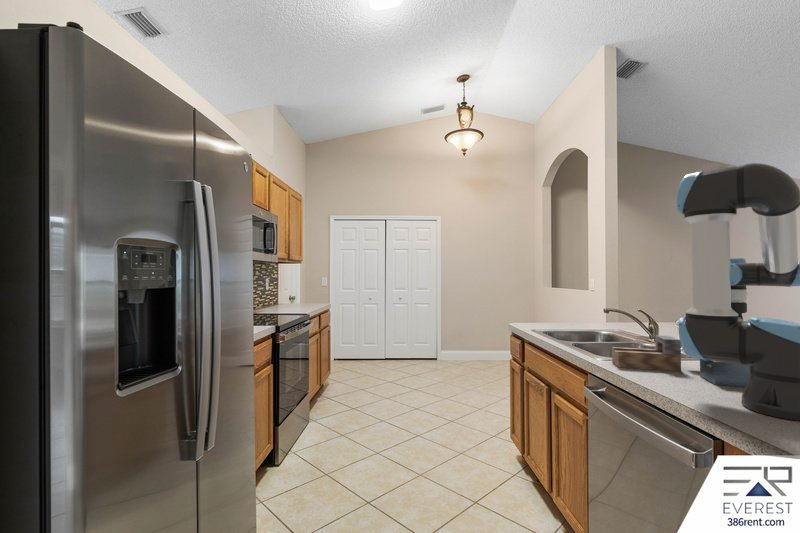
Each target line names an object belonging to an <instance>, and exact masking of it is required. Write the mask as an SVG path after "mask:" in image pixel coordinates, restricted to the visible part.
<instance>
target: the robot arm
mask: <svg viewBox="0 0 800 533" xmlns="http://www.w3.org/2000/svg"><path fill="white" fill-rule="evenodd" d="M677 189H678V190H677V194H676V209H677V213H678V214H680V215H684V216H683V218H684V219H683V220H684V221H686V223H688V224H690V246H691V247H690V250H691V252H690V255H691V256H690V260H691V261H690V262H691V264H690V265H691V307H690V308H689V309H687V310H685V316H682V317H680V318H679V320H678V327H677V328H678V329H677V330H678V336H679V338H678V339H679V340H680V342H681V349H682V351H683V350H684V352H685V354H686V355H685V354H684V355H685V356H687V355H688V357H689V358H692V359H697V360H698V359H699V360H700V359H703V360H705V361H707V360H711V361H719V362H726V363H734V364H741V365H749V366H750V378H749V380H748V382H747V385H746V387H744V390H743V392H742V394H741V405H742V406H743V407H745V408H746V409H749V410H750V411H753V412H756V413H760V414H763V415H767V416H771V417H775V418H779V419H785V420H790V421H798V422H800V323H799V322H794V321H789V320H782V319H778V318H772V317H771V318H770V317H761V316H750V317H749V318H748V321H746V320H745V321H744V317H743V314H746V313H748V303H747V302H745V301H747V299H748V298H747V295H749V294H748V292H747V288H748V287H747V286H749V287H788V288H791V287H800V261H799V256H798V232H797V228H798V226H797V210H798V209H799V208H800V187H799V186H798V184H797V182H796V181H795V180H794V179H793V178H792V177H791V176H790V175H789V174H788V173H786V172H785V171H784V170H782V169H780V168H778V167H775V166H774V165H769V164H766V163H759V162H757V163H755V162H753V163H746V164H743V165H733V166H726V167H721V168H719V167H718V168H714V169H705V170H701V171H696V172H692V173H687V174H686V175H685V176H683V178H681V181H680V183H679V185H678V188H677ZM746 208H751V210H752V211H753V213H754V214H756V215H757V223H758V232H759V239H760V248H761V255H762V256H761V257H762V262H747V260H746V259H745V258H742V257H734V258H733V257H731V235H730V234H731V230H730V229H731V225H730V223H731V221H732V220H734V219H735V218H736V217H737V216H738V211H737V210H738V209H746Z"/></svg>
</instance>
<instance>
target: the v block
mask: <svg viewBox="0 0 800 533" xmlns="http://www.w3.org/2000/svg"><path fill="white" fill-rule="evenodd" d="M699 377H700V378H702V379H703V380H705V381H707V382H709V383H711V384H713V385H714V386H726V387H743V388H745V387H746V385H747V382H748V380H749V378H750V366H749V365H741V364H734V363H726V362H719V361H711V360H707V361H705V360H703V359H699Z"/></svg>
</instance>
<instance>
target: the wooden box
mask: <svg viewBox="0 0 800 533" xmlns="http://www.w3.org/2000/svg"><path fill="white" fill-rule="evenodd" d="M654 336H655V342H654V343H655V348H642V347H641V348H640V347H639V348H638V347H617V346H612V347H611V361H612V363H613V364H614V365H616V367H617V368H624V369H625V368H626V369H639V370H640V369H642V370H658V371H672V372H673V371H675V372H682V346H681V342H680V338H676V337H674V336H672V335H661V334H660V335H657V334H656V335H655V334H654Z"/></svg>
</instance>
